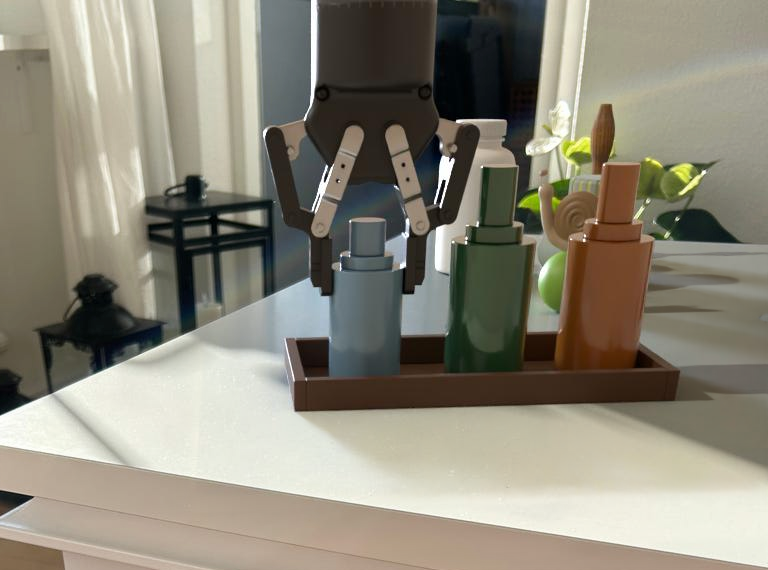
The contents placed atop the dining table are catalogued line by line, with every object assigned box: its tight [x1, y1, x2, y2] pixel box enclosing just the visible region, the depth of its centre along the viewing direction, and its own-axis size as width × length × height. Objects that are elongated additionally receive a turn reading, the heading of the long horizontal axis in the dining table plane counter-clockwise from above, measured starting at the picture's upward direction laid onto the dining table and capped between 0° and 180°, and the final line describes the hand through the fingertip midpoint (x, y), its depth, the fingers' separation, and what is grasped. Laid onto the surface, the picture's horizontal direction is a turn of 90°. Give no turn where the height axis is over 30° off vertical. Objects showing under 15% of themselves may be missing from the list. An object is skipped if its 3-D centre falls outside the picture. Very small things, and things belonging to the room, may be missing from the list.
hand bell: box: [589, 103, 616, 175], centre depth 117 cm, size 8×8×16 cm
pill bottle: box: [434, 118, 516, 275], centre depth 110 cm, size 8×8×15 cm
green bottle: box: [443, 164, 537, 374], centre depth 69 cm, size 6×6×14 cm
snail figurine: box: [537, 168, 598, 313], centre depth 93 cm, size 5×6×12 cm
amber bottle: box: [553, 161, 656, 371], centre depth 70 cm, size 6×6×14 cm
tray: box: [283, 330, 681, 413], centre depth 73 cm, size 26×12×3 cm, turn 93°
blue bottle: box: [328, 216, 404, 377], centre depth 70 cm, size 5×5×11 cm
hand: (366, 292), depth 69 cm, fingers closed on blue bottle, 5 cm apart
